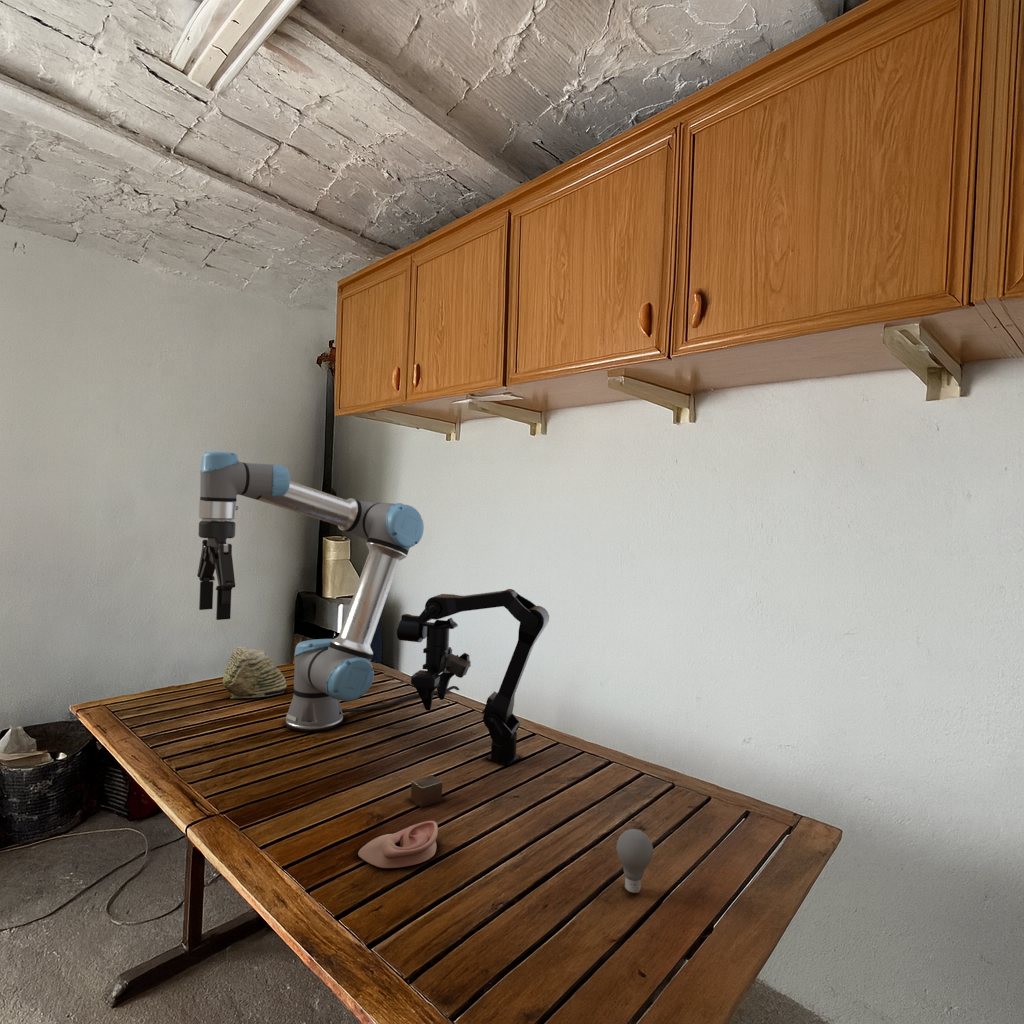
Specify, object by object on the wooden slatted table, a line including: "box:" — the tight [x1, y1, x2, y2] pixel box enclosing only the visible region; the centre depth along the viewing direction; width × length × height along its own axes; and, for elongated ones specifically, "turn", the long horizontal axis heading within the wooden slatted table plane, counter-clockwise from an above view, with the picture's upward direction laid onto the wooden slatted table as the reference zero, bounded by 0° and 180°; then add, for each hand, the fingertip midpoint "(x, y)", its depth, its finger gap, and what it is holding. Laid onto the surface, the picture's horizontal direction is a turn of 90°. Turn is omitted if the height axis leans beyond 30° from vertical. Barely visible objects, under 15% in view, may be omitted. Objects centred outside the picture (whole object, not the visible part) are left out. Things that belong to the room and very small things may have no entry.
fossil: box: [222, 646, 288, 699], centre depth 198 cm, size 9×18×15 cm, turn 132°
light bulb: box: [615, 828, 654, 894], centre depth 106 cm, size 6×6×10 cm
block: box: [410, 774, 443, 808], centre depth 134 cm, size 5×4×4 cm
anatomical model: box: [357, 820, 439, 869], centre depth 114 cm, size 13×4×12 cm
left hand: (214, 614), depth 143 cm, fingers open, 13 cm apart
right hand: (435, 704), depth 162 cm, fingers open, 9 cm apart
